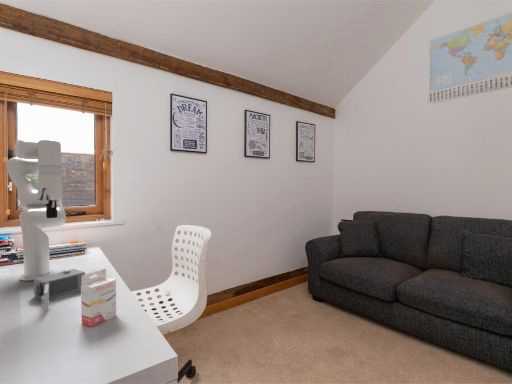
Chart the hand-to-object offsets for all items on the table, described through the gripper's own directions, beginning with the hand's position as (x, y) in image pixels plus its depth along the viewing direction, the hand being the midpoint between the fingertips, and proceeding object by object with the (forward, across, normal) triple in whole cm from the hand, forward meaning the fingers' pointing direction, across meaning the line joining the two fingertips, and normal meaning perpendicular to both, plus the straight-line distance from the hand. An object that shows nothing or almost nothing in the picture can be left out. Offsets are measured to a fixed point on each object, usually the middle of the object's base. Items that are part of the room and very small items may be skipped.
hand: (52, 217), depth 115 cm
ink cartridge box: (+29, +32, +26) cm, 51 cm away
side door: (+28, +17, +5) cm, 33 cm away
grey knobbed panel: (+29, +4, +4) cm, 30 cm away
